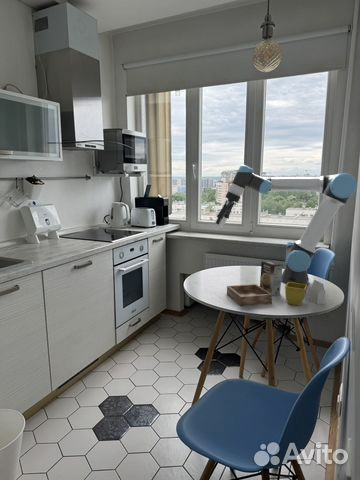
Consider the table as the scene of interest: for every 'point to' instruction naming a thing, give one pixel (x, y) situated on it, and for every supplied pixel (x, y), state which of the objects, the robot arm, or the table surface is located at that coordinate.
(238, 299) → the tray
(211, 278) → the table surface
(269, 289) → the coffee box
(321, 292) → the grey block
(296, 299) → the flower pot
